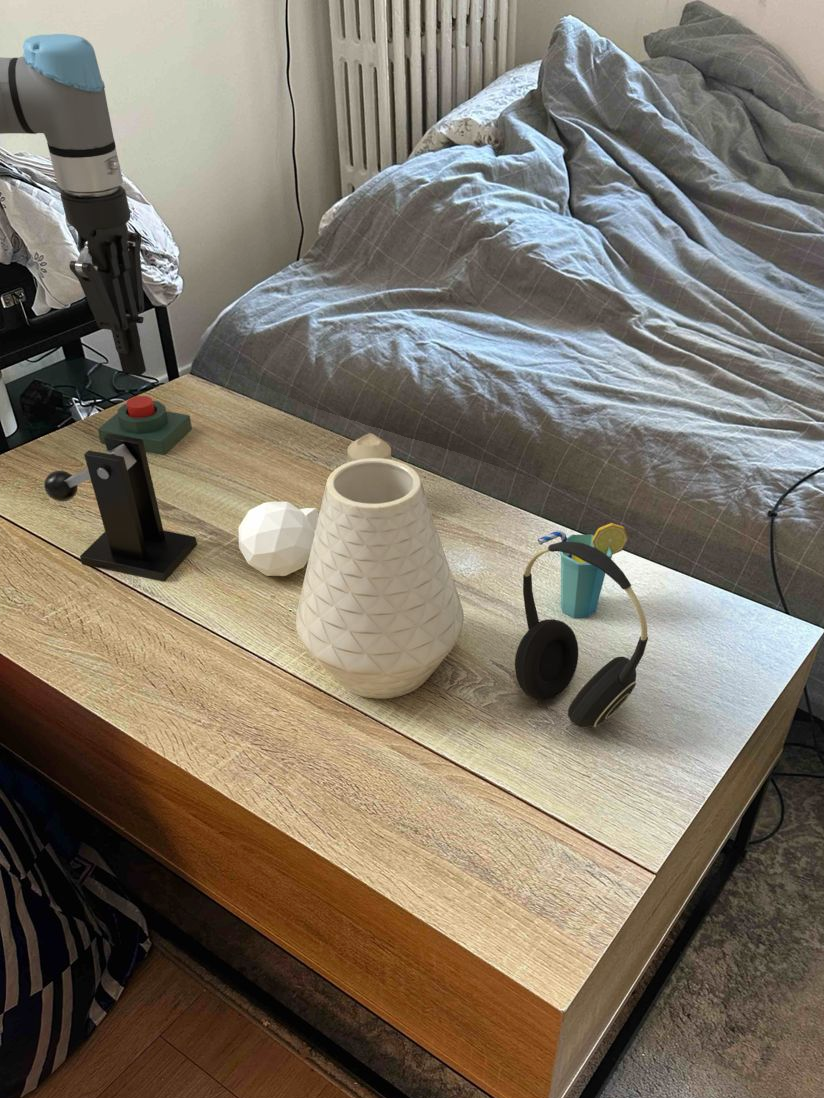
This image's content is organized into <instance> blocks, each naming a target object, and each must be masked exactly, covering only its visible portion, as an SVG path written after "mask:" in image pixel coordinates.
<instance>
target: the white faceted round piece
mask: <svg viewBox="0 0 824 1098" xmlns="http://www.w3.org/2000/svg"><path fill="white" fill-rule="evenodd" d="M318 517H319V512H318V508H317V507H308V508H307V507H305V508H300V509H299V508H297V507H296V506H294V505H293V504H292V503H290V502H288V501H266V502H263V503H261V504H259V505H257V506H255V507H253V508H251V509H249V510H248V512H247V513H246V515H245V516H244V518H243V519H242V521H241V522H240V524H239V525H238V527H237V530H238V548H239V550H240V552H241V553H242V556H243V558H244V559H245V561H246V562H247V564H248V565H250V566H251V567H252V568H254V569H255V570H257V571H258V572H260V573H262V574H263V575H265V576H266V577H286V576H288V575H290V574H292V573H294V572H297V571H299V570H301V569H303V568H304V567H305V566H306V565H307V564H308V561H309V556H310V552H311V548H312V543H313V539H314V535H315V530H316V526H317V522H318Z"/></svg>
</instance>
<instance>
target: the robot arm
mask: <svg viewBox="0 0 824 1098" xmlns="http://www.w3.org/2000/svg"><path fill="white" fill-rule="evenodd" d="M22 49H23V54H22V56H19V57H0V135H1V134H2V135H3V134H6V135H7V134H30V135H36V134H37V135H38V134H43V135H44V137H45V140H46V142H47V148H48V152H49V156H50V161H51V165H52V170H53V173H54V178H55V181H56V186H58V188H59V189H61V192H60V194H59V195H60V200H61V203H62V207H63V211H64V215H65V219H66V221H67V223H68V224H69V225H70V226H71V227H72V228H73V229H74V230H75V231H76V232H77V247H78V250H79V252H80V253H79V256H78V258H77V260H70V262H69V265H68V266H69V270H70V271H71V272H72V274H73V275H74V276H75V277H76V279H77V280H78V282H79V284H80V287H81V289H82V293H83V294H84V296H85V299H86V301H87V303H88V306H89V308H90V310H91V313H92V315H93V318H94V320H95V322H96V325H97V326H98V328H99V329H101V330H109V331H111V334H112V338H113V343H114V347H115V350H116V352H117V355H118V359H119V363H120V367H121V371H122V373H123V374H128V375H129V374H130V375H136V376H143V374H145V372H147V368H146V364H145V360H144V355H143V350H142V346H141V336H140V333H139V328H138V324H143V323H144V316H139V314H140V313H141V314H142V313H144V312H145V299H144V297H145V296H144V287H143V272H142V262H141V247H142V234H141V233H139V232H133V231H130V230H129V229H128V226H127V223H129V221H130V219H131V211H130V205H129V201H128V196H127V191H126V189H125V188H124V187H123V186H122V184H123V182H124V178H123V175H122V170H121V165H120V161H119V157H118V152H117V148H116V142H115V138H114V132H113V128H112V121H111V117H110V111H109V107H108V100H107V95H106V91H105V89H106V86H105V82H104V81H103V79H102V74H101V71H100V67H99V63H98V59H97V56H96V55H97V54H96V52H95V49H94V46H93V45H92V44H91V42H89V40H87V39H86V38H84V37H82V36H79V35H75V34H67V33H54V34H37V35H33V36H32V35H31V36H30V37H27V38H25V39H24V41H23V43H22Z"/></svg>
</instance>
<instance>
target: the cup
mask: <svg viewBox="0 0 824 1098" xmlns="http://www.w3.org/2000/svg"><path fill="white" fill-rule="evenodd" d="M557 538H560V540H561V542H579V543H584V544H586V545H589V546H592V547H595V548H597V549H598V550H600V551H602V552H603V553H604V554H606V555H607V556H608V557H609V558H610V559H612V558H613V556H614V555H615V554H618V553H620V552H622V551H623V550H624V548H625V546H626V544H627V542H628V541H629V538H628V535H627V532H626V529H625V527H624V526H623V525H620V524H616V523H613V522H610V523H608V524H605V525H603V526H601V527H597V530H596V532H595V533H594V534H591V533H590V534H588V533H587V534H571V535H570V536H568V537H567V534H566V533H565V532H564V531H562V530H555V531H553V532H550V533H548V534H546V535H544V536H542V537H540V538H537V543H538V544H539V545H540V546H541V545H543V544H545V543H548V542H551V541H552V540H555V539H557ZM559 555H560V606H561V612H562V613H563V614H565V615H567V616H569V617H571V618H572V619H588V618H589V617H591V616H592V615H593V614H594V613H596V612H597V608H598V604H599V599H600V596H601V592H602V589H603V586H604V585H603V584H604V580H605V578H606V577H605V576H606V573H604V572H603V571H602V570H601V569H599V568H597V567H596V566H594V565H592V564H589V563H587V562H585V561H583V560H581V559H580V558H578V557H576V556H574V555H572V554H569V553H565V552H559Z"/></svg>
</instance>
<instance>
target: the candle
mask: <svg viewBox="0 0 824 1098" xmlns="http://www.w3.org/2000/svg"><path fill="white" fill-rule="evenodd" d="M346 449H347V450H346V451H347V452H346V454H347V463H348V462H351V461H355V460H359V459H367V458H383V459H390V460H392V449H391V445H390V444H388V443H387V442H386V441H384V440H383V439H381V438H380V437H378V436H377V435H375V434H374V433H370V432H369V433H366V434H364V435H362V436H361V437H359V438H357V439H356V440H353V441H352V442H351V443H350V444H349V445H348V446H347V448H346Z"/></svg>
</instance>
